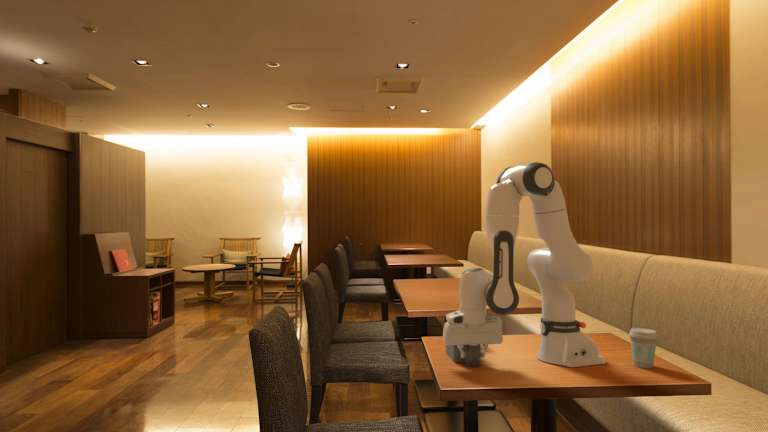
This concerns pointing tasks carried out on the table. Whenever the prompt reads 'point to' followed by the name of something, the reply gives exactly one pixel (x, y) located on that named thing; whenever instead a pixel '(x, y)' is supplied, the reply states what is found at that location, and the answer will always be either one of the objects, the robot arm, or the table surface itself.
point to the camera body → (455, 353)
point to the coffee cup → (643, 346)
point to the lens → (472, 355)
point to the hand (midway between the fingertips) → (472, 357)
